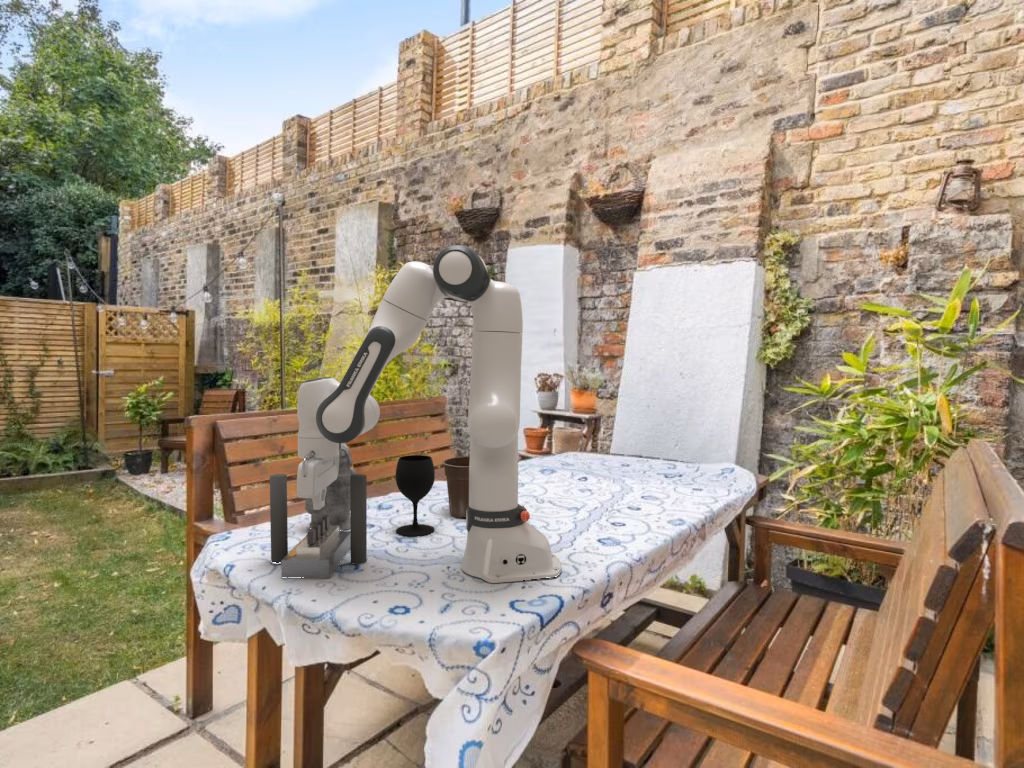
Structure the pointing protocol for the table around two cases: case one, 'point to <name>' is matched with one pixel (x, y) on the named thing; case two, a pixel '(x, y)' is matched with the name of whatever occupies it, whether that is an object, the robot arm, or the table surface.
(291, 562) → the breaker panel
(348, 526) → the figurine
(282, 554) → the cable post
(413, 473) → the wine glass
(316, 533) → the breaker paddles
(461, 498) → the plant pot
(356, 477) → the disc
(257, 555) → the table surface
